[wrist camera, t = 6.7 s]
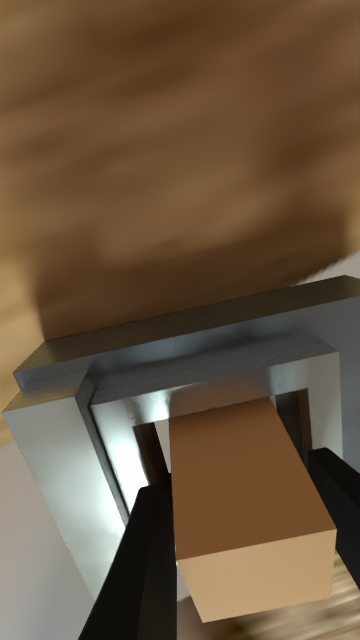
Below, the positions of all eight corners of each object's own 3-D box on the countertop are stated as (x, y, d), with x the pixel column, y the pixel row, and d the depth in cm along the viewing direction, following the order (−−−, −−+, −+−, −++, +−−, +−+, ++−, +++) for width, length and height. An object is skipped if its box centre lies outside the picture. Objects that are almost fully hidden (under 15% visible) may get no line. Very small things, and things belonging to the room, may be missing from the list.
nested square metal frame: (115, 520, 14) (99, 623, 11) (44, 341, 11) (-15, 398, 7) (349, 470, 14) (415, 555, 11) (344, 274, 11) (436, 299, 7)
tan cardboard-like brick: (183, 440, 13) (202, 622, 8) (166, 381, 11) (176, 560, 6) (258, 424, 13) (330, 598, 8) (251, 363, 11) (336, 529, 6)
